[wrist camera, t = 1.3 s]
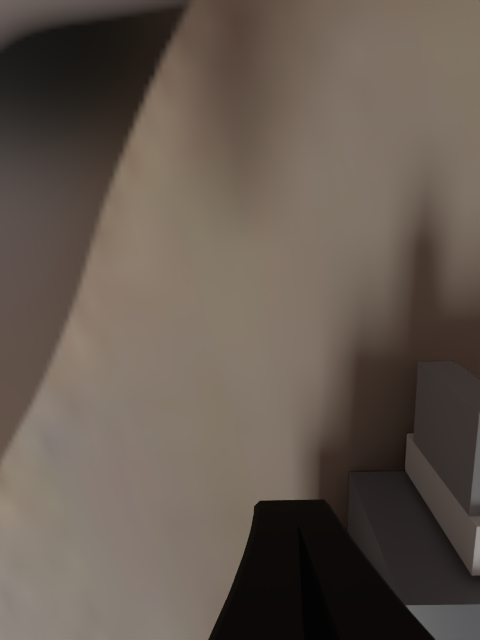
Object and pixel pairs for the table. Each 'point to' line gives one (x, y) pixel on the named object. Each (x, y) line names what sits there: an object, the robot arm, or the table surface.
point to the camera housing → (413, 553)
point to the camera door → (448, 453)
